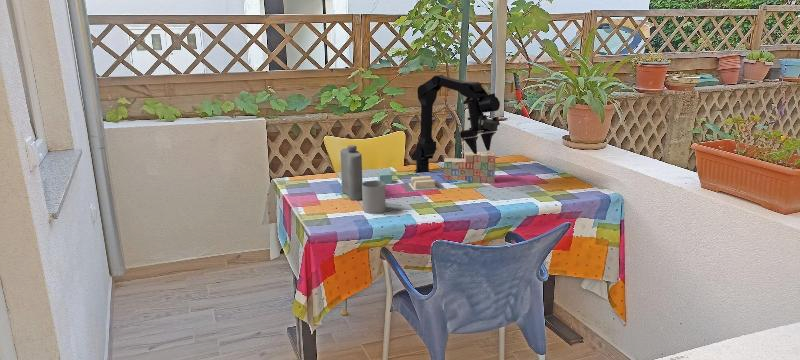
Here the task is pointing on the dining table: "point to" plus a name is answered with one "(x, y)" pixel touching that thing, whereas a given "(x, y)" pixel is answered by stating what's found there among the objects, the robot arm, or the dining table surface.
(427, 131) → the robot arm
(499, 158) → the dining table surface
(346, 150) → the flask
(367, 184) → the cup
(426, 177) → the maple slab
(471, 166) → the stack of blocks
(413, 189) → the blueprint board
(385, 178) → the teal cube
